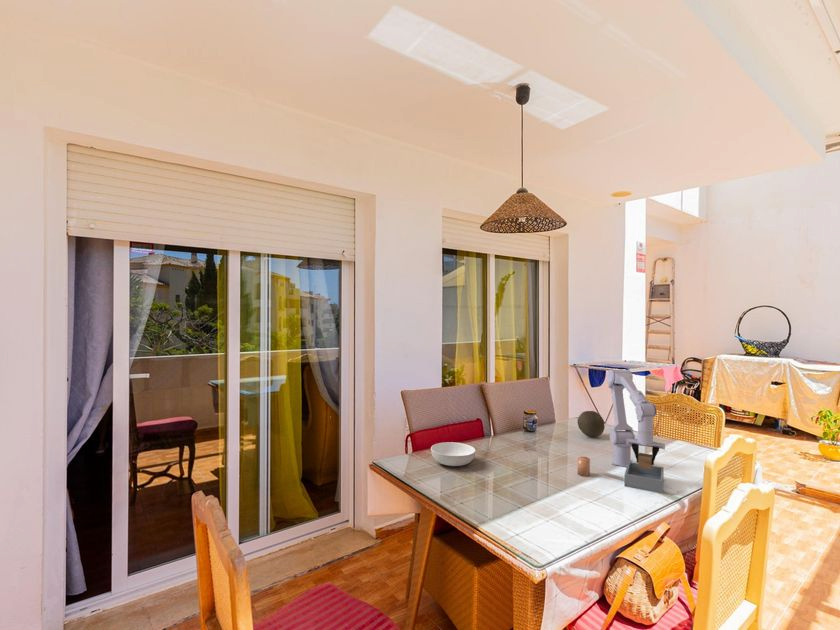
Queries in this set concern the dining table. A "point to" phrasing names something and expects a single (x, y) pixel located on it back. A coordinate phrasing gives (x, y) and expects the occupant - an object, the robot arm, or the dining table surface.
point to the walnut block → (645, 461)
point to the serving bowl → (453, 453)
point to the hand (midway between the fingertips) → (645, 463)
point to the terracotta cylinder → (583, 466)
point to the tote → (644, 478)
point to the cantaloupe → (591, 423)
